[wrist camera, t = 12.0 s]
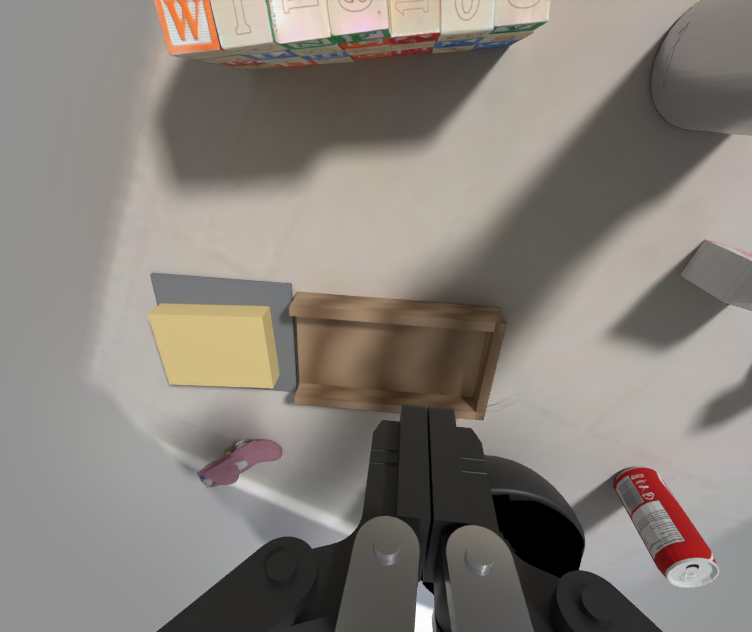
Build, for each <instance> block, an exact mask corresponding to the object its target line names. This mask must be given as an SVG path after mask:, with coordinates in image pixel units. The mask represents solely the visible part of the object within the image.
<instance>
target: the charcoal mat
mask: <svg viewBox="0 0 752 632" xmlns="http://www.w3.org/2000/svg"><path fill="white" fill-rule="evenodd" d="M150 275H151V279H152V283H153V288H154V292H155V296H156V301H157V305H160V304H161V303H163V304H201V305H239V306H270V313H271V319H272V326H273V333H274V340H275V347H276V354H277V360H278V367H279V374H280V375H279V377H278V379H277V382H276V384H275V386H274V388H254V389H266V390H278V391H289V392H296V391H297V377H296V358H295V339H294V320H293V316H290V315H289V306H290V304H291V303H292V301H293V300H292V284H291V283H278V282H265V281H252V280H238V279H225V278H212V277H199V276H186V275H173V274H160V273H152V274H150ZM243 388H251V387H243Z"/></svg>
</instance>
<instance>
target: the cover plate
mask: <svg viewBox="0 0 752 632" xmlns="http://www.w3.org/2000/svg"><path fill="white" fill-rule="evenodd" d="M148 317H149V320H150V323H151V327H152V330H153V333H154V336H155V339H156V343H157V346H158V349H159V352H160V355H161V359H162V362H163V365H164V368H165V371H166V375H167V378H168V381H169V384H174V385H200V386H225V387H251V388H274V386H275V384H276V382H277V379H278V377H279V375H280V374H279V367H278V360H277V354H276V347H275V340H274V333H273V326H272V319H271V313H270V306H239V305H201V304H163V303H161V304H160V305H158V306H157V307H156V308H155V309H153V310H152V311H151V312H150V313H148Z"/></svg>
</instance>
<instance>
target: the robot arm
mask: <svg viewBox="0 0 752 632" xmlns="http://www.w3.org/2000/svg"><path fill="white" fill-rule="evenodd" d="M651 91H652V96H653V101H654V104H655V106H656V108H657V110H658V112H659V113H660V114H661V116H662V117H663V118H664V119H665V120H666V121H668V122H669V123H671V124H672V125H674V126H676V127H679V128H683V129H686V130H697V131H708V132H718V133H727V134H738V135H749V136H752V0H701V1H700V2H698V3H696V4H695V5H694V6H693V7H692V8H691V9H689V10H688V11H687V12H686V13H685V14H684V15H683V16H682V17H681V18H680V19H679V20H678V21H677V23H676V24H675V25H674V26H673V27H672V29H671V30H670V31H669V33H668V35H667V36H666V38H665V40H664V41H663V43H662V44H661V47H660V49H659V52H658V54H657V56H656V59H655V62H654V67H653V71H652V78H651ZM422 570H423V582H430V583H434V609H433V614H432V627H433V632H662V631H661V630H660V629H659V628H658V627H657V626H656V625H655V624H654V623H653V622H652V621H651V620H650V619H649V618H647V617H646V616H645V615H644V614H643V613H642V612H641V611H640V610H639V609H638V608H637V607H635V605H633V604H632V603H631V602H630V601H629V600H628V599H627V598H626V597H625V596H624V595H623V594H622V593H621V592H619V591H618V590H617V589H616V588H615V587H614V586H613V585H612V584H610V583H609V582H608V581H606V580H605V579H603V578H602V577H600V576H598V575H596V574H593V573H591V572H587V571H580V570H576V571H571V572H568V573H566V574H565V575H563V576H562V578H559V577H556V576H554V575H552V574H549V573H547V572H545V571H543V570H540V569H538V568H536V567H533V566H531V565H529V564H527V563H526V562H524V561H523V560H521V559H520V558H519V557H517V556H516V555H515V554H514V553H513V552H512V551H511V550H510V549H509V547H508V546H507V545H506V544H505V542H504V540H503V539H502V537H501V534H500V532H499V528H498V524H497V519H496V514H495V509H494V504H493V498H492V493H491V488H490V483H489V478H488V476H487V468H486V463H485V458H484V453H483V448H482V443H481V441H480V440H479V438H478V437H477V436H476V434H475V433H474V431H473V430H472V428H464V427H456V421H455V413H454V409H453V408H447V407H436V406H428V408H427V407H426V406H423V405H412V404H401V414H400V422H397V421H387V420H382V421H381V422H380V424H379V425H378V427H377V428H376V430H375V431H374V432H373V439H372V446H371V454H370V463H369V470H368V478H367V486H366V493H365V501H364V509H363V515H362V519H361V521H360V523H359V525H358V527H357V528H356V530H355V531H354V532H353V533H352V534H351V535H350V536H348V537H347V538H345V539H344V540H342V541H340V542H338V543H334V544H331V545H327V546H322V547H318V548H314V549H312V548H311V547H310V546H309V545H308V544H307V543H306V542H305V541H303V540H301V539H298V538H295V537H281V538H277V539H274V540H272V541H270V542H268V543H266V544H265V545H263V546H262V547H261V548H260V549H258V550H257V551H256V552H255V553H253V554H252V555H251V556H250V557H249V558H247V559H246V560H245V561H244V562H242V563H241V564H240V565H239V566H237V567H236V568H235V569H234V570H233V571H231V572H230V573H229V574H227V575H226V576H225V577H224V578H223V579H222V580H220V581H219V582H218V583H216V584H215V585H214V586H213V587H211V588H210V589H209V590H208V591H206V592H205V593H204V594H203V595H202V596H200V597H199V598H198V599H197V600H196V601H194V602H193V603H192V604H190V605H189V606H188V607H187V608H185V609H184V610H183V611H182V612H181V613H179V614H178V615H177V616H176V617H174V618H173V619H172V620H171V621H169V622H168V623H167V624H166V625H164V626H163V627H162V628H161V629H159V630H158V631H157V632H414V628H415V613H416V598H417V587H418V581H419V582H420V581H421V576H422Z"/></svg>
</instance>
